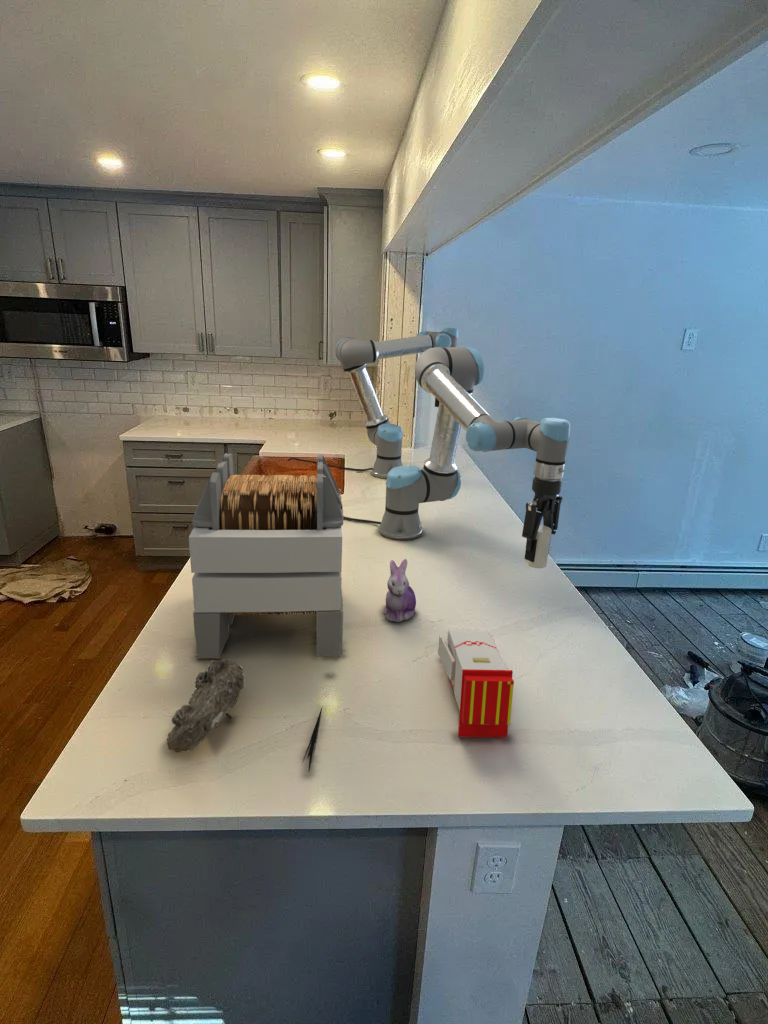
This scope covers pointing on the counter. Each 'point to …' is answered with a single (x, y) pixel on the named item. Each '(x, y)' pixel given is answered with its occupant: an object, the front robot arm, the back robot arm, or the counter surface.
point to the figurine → (399, 594)
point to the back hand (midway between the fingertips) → (444, 405)
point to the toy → (478, 682)
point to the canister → (541, 547)
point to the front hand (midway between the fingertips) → (536, 557)
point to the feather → (313, 740)
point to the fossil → (206, 705)
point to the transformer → (267, 553)
